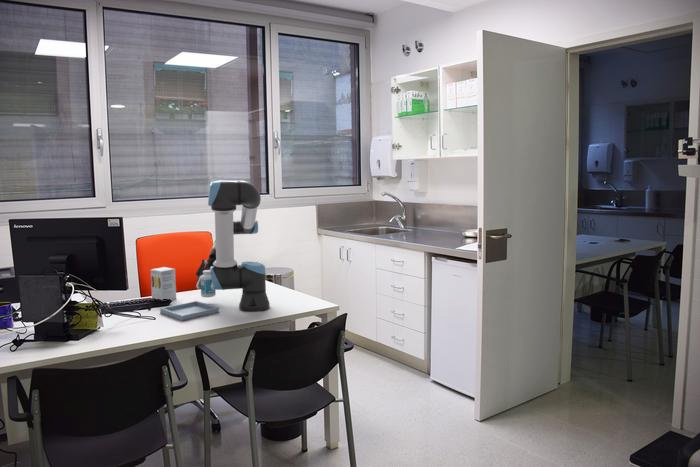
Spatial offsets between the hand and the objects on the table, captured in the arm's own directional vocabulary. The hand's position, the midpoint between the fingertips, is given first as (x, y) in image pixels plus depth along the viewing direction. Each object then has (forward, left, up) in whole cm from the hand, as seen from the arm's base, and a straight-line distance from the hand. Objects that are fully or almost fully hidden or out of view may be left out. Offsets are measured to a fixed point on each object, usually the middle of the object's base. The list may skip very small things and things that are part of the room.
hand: (204, 287), depth 279 cm
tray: (-9, +14, -9) cm, 19 cm away
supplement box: (+25, +9, -9) cm, 29 cm away
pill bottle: (+2, -3, -5) cm, 6 cm away
